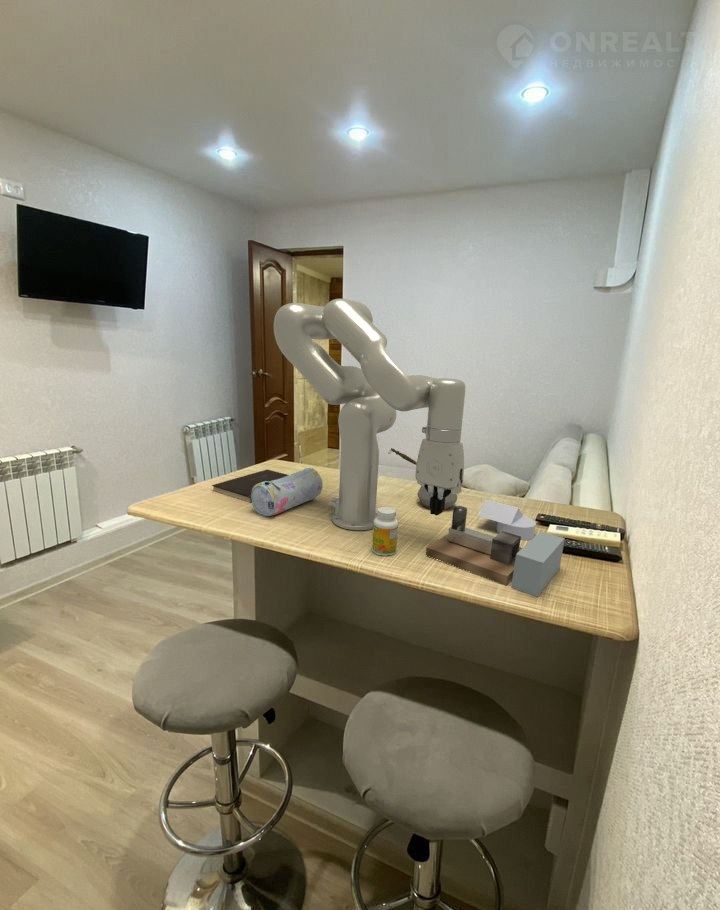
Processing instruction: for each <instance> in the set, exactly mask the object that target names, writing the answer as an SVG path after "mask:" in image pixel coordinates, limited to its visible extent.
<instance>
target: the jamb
mask: <svg viewBox="0 0 720 910" xmlns="http://www.w3.org/2000/svg"><path fill="white" fill-rule="evenodd" d="M565 539H566V538H565V537H562V536H559V535H555V534H551V533H547V532H544V531H539V532H538V533H537V534H536V535H534V537H533V538H532V539H530V540H529V541H528V543H526V544H525V546H523V547H521V548H522V549H521V550H520V551H519V552H518V553H517V554H516V558H515V565H514V572H513V579H512V580H511V585H510V586H511V588H512V589H515V590H517V591H520V592H523V593H525V594H528V595H531V596H533V597H537V598H538V597H540V595H541V593H542V592H543V591H544V589H546V588H547V586H548V584H549V583H550V582H551V580H552V579H553V578H554V576H556V573H558V571H559V570H560V569H561V568H560V567H561V562H562V557H563V550H564V545H565Z"/></svg>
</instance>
